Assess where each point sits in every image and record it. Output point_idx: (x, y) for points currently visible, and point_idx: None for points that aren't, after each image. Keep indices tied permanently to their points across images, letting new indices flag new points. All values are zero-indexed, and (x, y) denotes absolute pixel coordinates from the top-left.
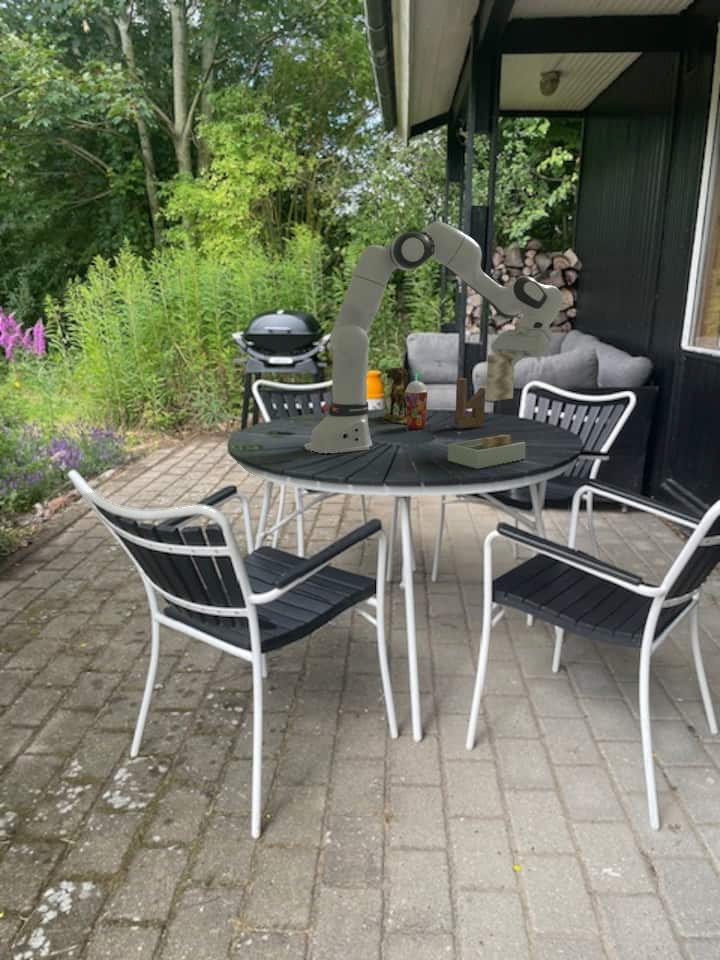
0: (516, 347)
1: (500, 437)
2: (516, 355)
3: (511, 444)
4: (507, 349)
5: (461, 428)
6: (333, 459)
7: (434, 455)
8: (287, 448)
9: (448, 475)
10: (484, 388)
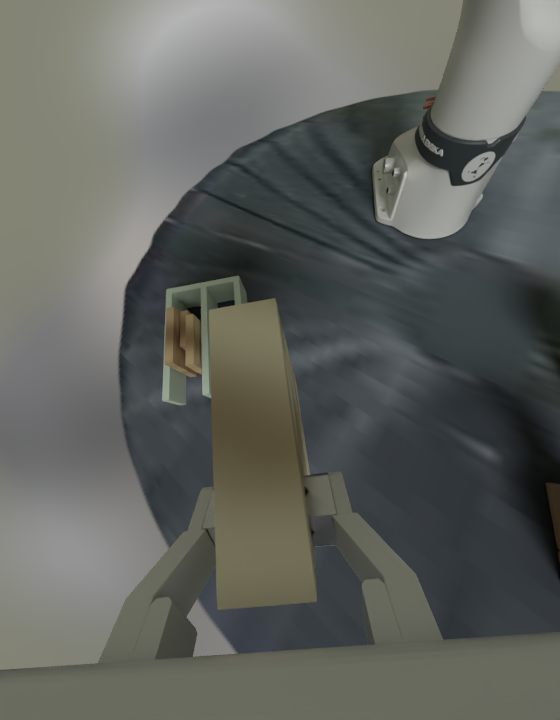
0: (158, 708)
1: (166, 337)
2: (168, 569)
3: (168, 366)
4: (355, 647)
5: (548, 495)
6: (337, 171)
7: (288, 291)
8: None
9: (178, 258)
10: None
